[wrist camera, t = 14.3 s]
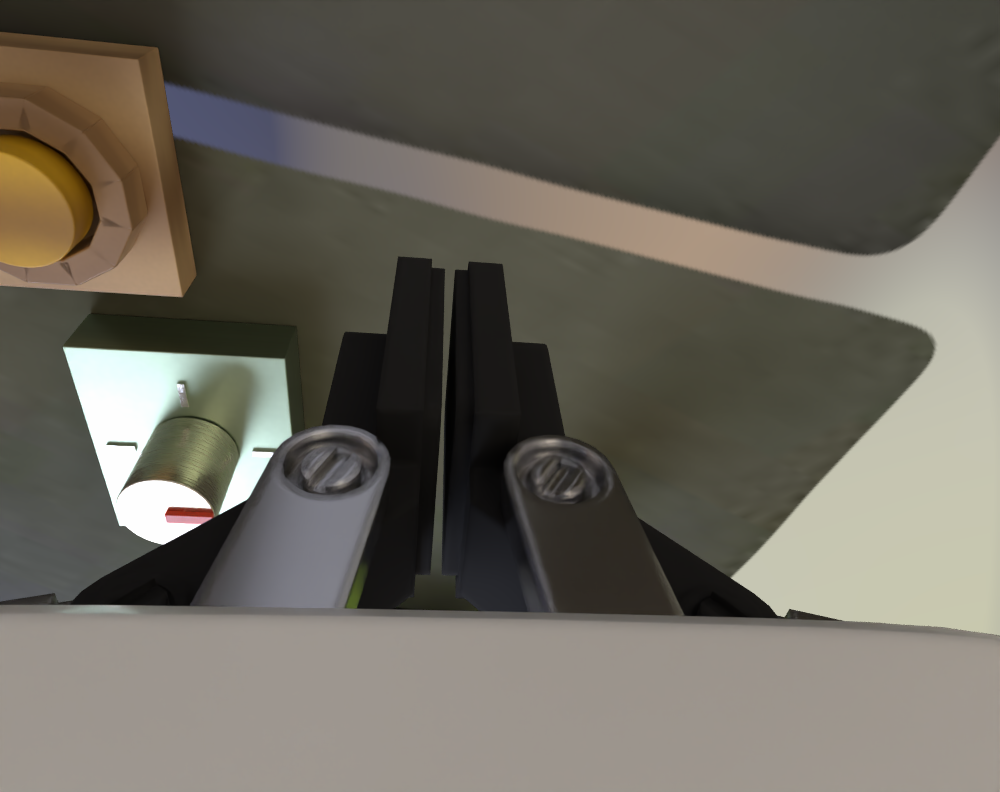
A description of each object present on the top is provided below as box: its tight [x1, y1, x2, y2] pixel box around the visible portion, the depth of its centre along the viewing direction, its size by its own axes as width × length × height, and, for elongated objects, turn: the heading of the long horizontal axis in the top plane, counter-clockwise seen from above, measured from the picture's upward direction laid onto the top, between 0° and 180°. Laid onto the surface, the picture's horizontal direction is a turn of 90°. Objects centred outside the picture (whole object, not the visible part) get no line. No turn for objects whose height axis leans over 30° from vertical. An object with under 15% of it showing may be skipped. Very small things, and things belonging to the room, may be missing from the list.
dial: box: [116, 418, 239, 544], centre depth 34 cm, size 4×4×5 cm
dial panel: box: [63, 314, 305, 526], centre depth 37 cm, size 12×10×3 cm
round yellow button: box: [0, 135, 93, 268], centre depth 26 cm, size 5×5×2 cm
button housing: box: [0, 32, 197, 297], centre depth 28 cm, size 10×9×4 cm
